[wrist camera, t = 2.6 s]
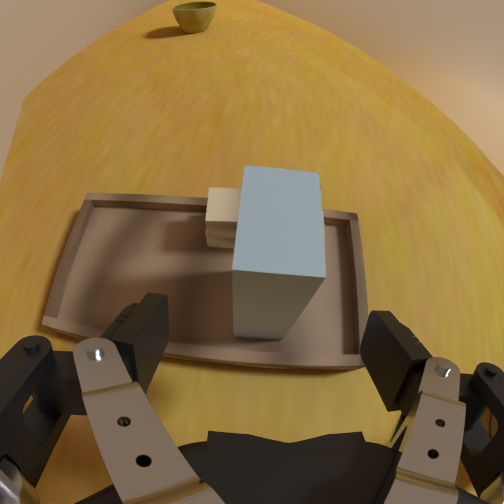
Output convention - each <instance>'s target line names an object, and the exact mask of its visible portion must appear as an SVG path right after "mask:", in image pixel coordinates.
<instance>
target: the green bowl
mask: <svg viewBox="0 0 504 504" xmlns="http://www.w3.org/2000/svg"><path fill="white" fill-rule="evenodd" d="M216 7H217V4H216V3H214V2H206V1H201V2H189V3H183V4H179V5H176V6H174V7H173V13H174V16H175V18H176V20H177V22H178V24H179V26H180V27H181V28H182V29H183V31H184V32H186V33H200V32H203V31H205V30H206V29H207V28H208V26H209V25H210V23H211V21H212V19H213V17H214V14H215V11H216Z"/></svg>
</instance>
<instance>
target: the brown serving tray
mask: <svg viewBox="0 0 504 504" xmlns="http://www.w3.org/2000/svg"><path fill="white" fill-rule="evenodd" d="M207 202H208V198H198V197H182V196H164V195H142V194H112V193H87V195H86V198H85V200H84V202H83V204H82V206H81V209H80V211H79V213H78V216H77V218H76V220H75V223H74V225H73V228H72V230H71V233H70V235H69V238H68V240H67V243H66V246H65V248H64V251H63V254H62V257H61V260H60V263H59V265H58V268H57V271H56V275H55V278H54V281H53V284H52V287H51V291H50V294H49V298H48V301H47V305H46V309H45V312H44V316H43V320H42V325H43V326H45V327H47V328H49V329H51V330H53V331H55V332H57V333H60V334H63V335H67V336H71V337H74V338H78V339H82V340H86V339H89V338H100V337H101V335H102V334H103V333H104V332H105V330H106V329H107V328H108V327H109V326H110V324H111V323H112V322H114V319H115V318H116V317H117V316H119V314H120V312H121V311H122V310H123V309H124V308H125V307H127V306H129V305H131V304H132V303H140V301H141V300H142V299H143V298H144V296H145V295H146V294H147V293H148V292H150V293H158V294H166V295H167V297H168V311H169V339H168V344H167V346H166V348H165V351H164V353H163V355H162V356H164V357H170V358H177V359H184V360H191V361H198V362H206V363H215V364H224V365H234V366H246V367H259V368H276V369H300V370H357V369H360V368H363V367H366V366H365V364H364V362H363V361H362V359H361V356H360V345H361V341H362V338H363V334H364V331H365V328H366V324H367V321H368V305H367V292H366V281H365V271H364V261H363V253H362V245H361V237H360V230H359V223H358V216H357V213H349V212H342V211H334V210H326V209H322V210H323V218H324V232H325V265H326V278H325V280H324V281H323V283H322V284H321V286H320V287H319V289H318V290H317V292H316V293H315V295H314V296H313V297H312V299H311V300H310V302H309V303H308V305H307V306H306V307H305V309H304V310H303V312H302V313H301V315H300V316H299V317H298V319H297V320H296V322H295V323H294V324H293V326H292V327H291V328H290V330H289V331H288V333H287V334H286V335H285V337H284V338H283V339H282V340H270V339H257V338H244V337H234V331H233V293H232V265H233V257H234V249H231V248H219V247H208V246H207V241H206V234H205V232H206V222H205V220H206V211H207Z"/></svg>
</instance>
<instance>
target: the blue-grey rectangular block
mask: <svg viewBox="0 0 504 504" xmlns="http://www.w3.org/2000/svg"><path fill="white" fill-rule="evenodd" d="M325 278H326V265H325V245H324V229H323V215H322V203H321V192H320V181H319V173H313V172H305V171H297V170H289V169H280V168H270V167H260V166H248V165H245V168H244V175H243V183H242V191H241V199H240V207H239V215H238V223H237V231H236V240H235V248H234V257H233V265H232V293H233V331H234V337H244V338H257V339H270V340H282V339H283V338H284V337H285V335H286V334H287V333H288V331H289V330H290V328H291V327H292V326H293V324H294V323H295V322H296V320H297V319H298V317H299V316H300V315H301V313H302V312H303V310H304V309H305V307H306V306H307V305H308V303H309V302H310V300H311V299H312V297H313V296H314V295H315V293H316V292H317V290H318V289H319V287H320V286H321V284H322V283H323V281H324V280H325Z"/></svg>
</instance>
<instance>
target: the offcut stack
mask: <svg viewBox="0 0 504 504" xmlns="http://www.w3.org/2000/svg"><path fill="white" fill-rule="evenodd" d="M241 191H242V188H209V194H208V202H207V211H206V220H205V222H206V232H205V234H206V241H207V246H208V247H219V248H231V249H234V248H235V240H236V231H237V223H238V215H239V207H240V199H241ZM322 215H323V210H322ZM323 229H324V218H323ZM324 245H325V232H324Z"/></svg>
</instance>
